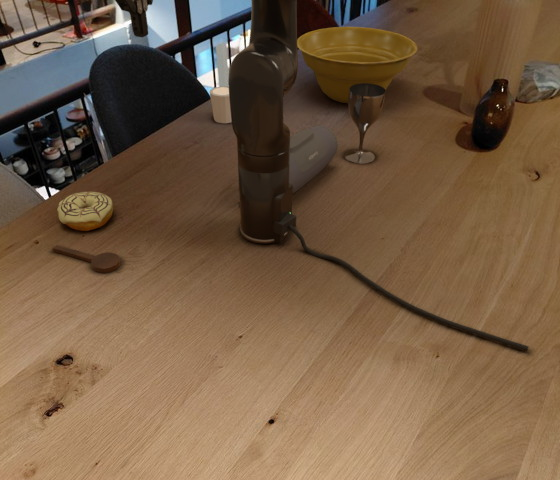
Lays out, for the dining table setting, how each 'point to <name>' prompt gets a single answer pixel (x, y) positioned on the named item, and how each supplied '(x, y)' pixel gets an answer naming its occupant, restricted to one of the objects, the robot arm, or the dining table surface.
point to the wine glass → (364, 115)
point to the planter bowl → (354, 57)
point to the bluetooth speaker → (310, 154)
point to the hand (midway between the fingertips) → (141, 35)
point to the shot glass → (221, 104)
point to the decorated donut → (85, 210)
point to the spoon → (93, 259)
